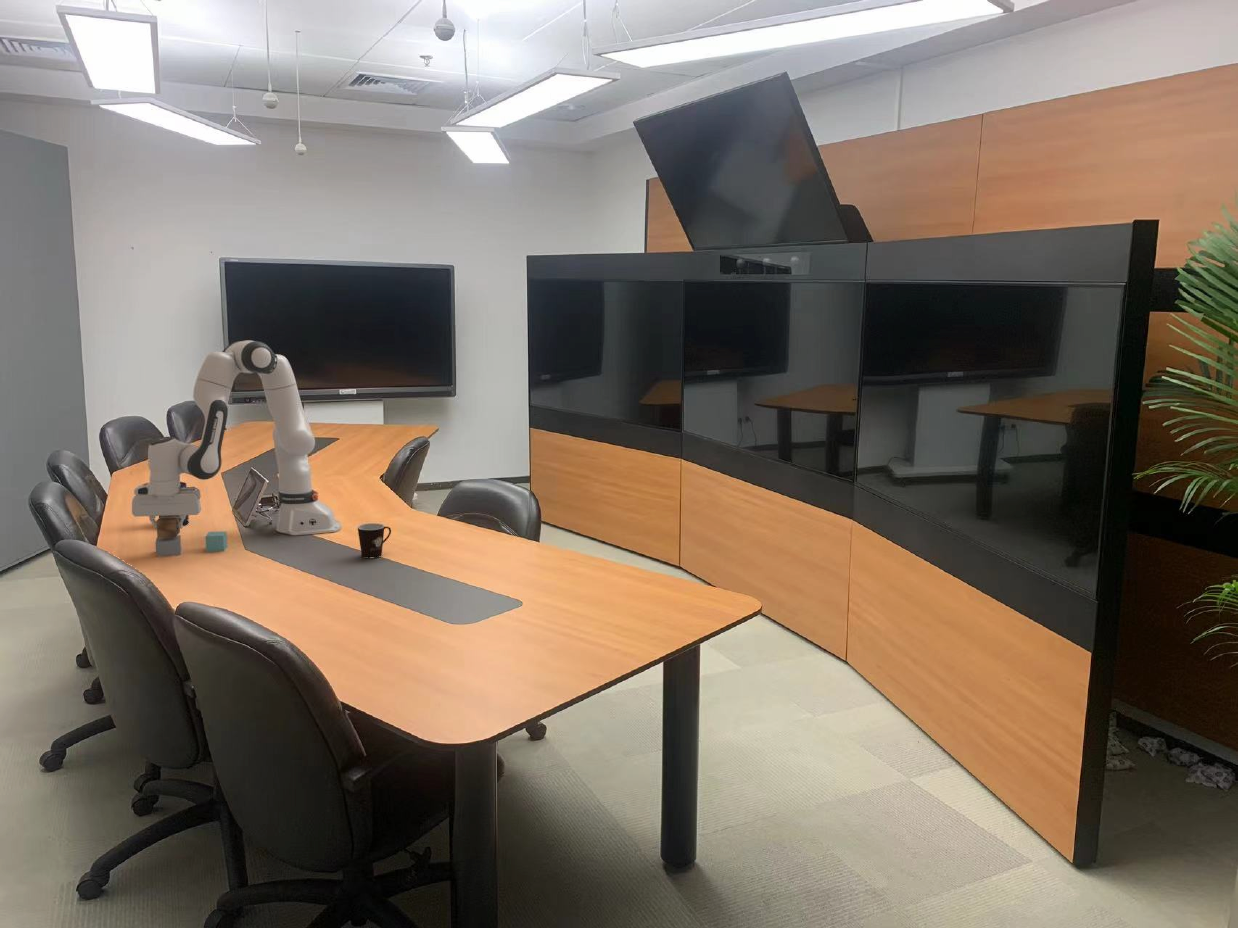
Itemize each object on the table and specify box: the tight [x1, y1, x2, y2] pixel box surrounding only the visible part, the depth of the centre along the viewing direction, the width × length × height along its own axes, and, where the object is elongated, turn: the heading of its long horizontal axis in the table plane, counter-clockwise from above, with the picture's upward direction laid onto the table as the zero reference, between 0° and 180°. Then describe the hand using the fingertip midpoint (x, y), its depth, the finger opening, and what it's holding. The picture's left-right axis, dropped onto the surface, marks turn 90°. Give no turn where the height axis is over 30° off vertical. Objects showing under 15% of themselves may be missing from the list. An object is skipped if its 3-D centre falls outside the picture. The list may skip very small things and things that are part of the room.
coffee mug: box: [357, 522, 392, 559], centre depth 299 cm, size 12×9×10 cm
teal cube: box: [205, 530, 228, 553], centre depth 301 cm, size 6×6×6 cm
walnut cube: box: [156, 516, 181, 538], centre depth 295 cm, size 6×6×6 cm
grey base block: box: [154, 534, 182, 558], centre depth 296 cm, size 7×7×5 cm
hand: (168, 528), depth 295 cm, fingers closed on walnut cube, 5 cm apart
